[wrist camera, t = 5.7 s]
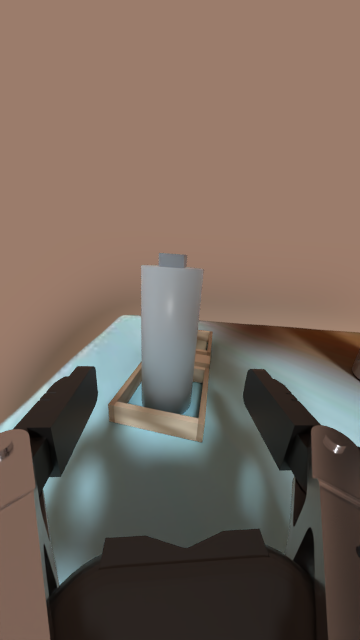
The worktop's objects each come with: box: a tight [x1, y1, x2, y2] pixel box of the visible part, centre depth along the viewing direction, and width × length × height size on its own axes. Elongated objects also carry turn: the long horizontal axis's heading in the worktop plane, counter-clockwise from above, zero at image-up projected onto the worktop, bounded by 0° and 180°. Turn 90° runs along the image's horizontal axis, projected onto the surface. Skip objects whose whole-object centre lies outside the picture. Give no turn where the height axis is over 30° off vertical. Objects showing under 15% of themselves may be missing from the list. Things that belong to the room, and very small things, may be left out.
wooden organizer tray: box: [108, 330, 213, 442], centre depth 24 cm, size 8×20×2 cm, turn 169°
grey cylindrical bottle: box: [141, 253, 204, 415], centre depth 17 cm, size 5×5×14 cm
